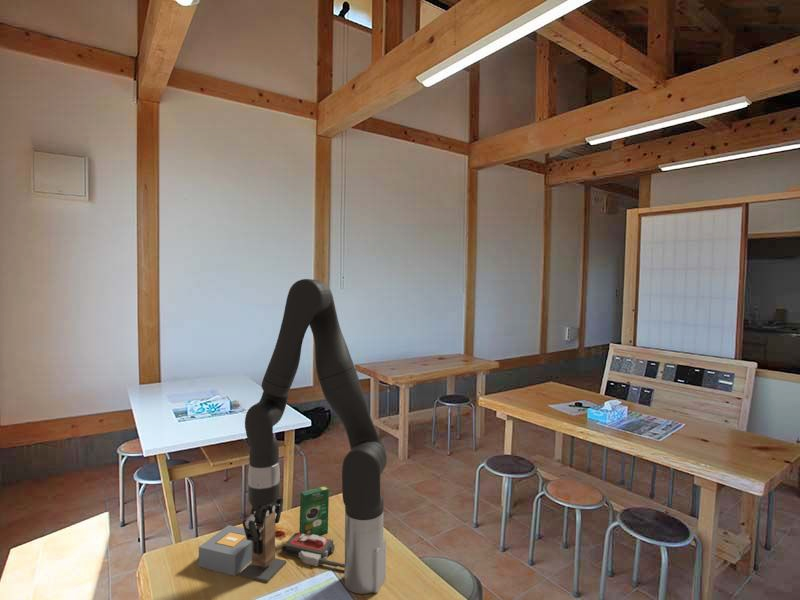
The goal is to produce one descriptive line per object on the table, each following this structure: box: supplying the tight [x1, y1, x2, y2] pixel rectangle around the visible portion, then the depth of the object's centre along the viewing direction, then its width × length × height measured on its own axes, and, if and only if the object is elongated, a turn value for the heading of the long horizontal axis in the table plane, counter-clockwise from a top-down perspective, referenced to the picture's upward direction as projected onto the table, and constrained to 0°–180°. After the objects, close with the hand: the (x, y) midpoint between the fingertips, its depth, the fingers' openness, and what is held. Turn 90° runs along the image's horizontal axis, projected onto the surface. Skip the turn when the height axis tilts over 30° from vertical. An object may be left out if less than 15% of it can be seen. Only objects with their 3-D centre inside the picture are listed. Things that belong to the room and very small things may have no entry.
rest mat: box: [239, 557, 287, 583], centre depth 109 cm, size 8×8×1 cm
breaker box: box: [198, 524, 252, 577], centre depth 114 cm, size 11×11×5 cm
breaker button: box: [216, 532, 246, 548], centre depth 114 cm, size 5×5×4 cm
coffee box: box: [298, 485, 330, 536], centre depth 125 cm, size 8×3×13 cm, turn 126°
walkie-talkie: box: [281, 532, 345, 569], centre depth 115 cm, size 9×4×20 cm
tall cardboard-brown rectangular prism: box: [251, 511, 276, 568], centre depth 109 cm, size 4×4×12 cm
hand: (263, 548), depth 109 cm, fingers closed on tall cardboard-brown rectangular prism, 3 cm apart
